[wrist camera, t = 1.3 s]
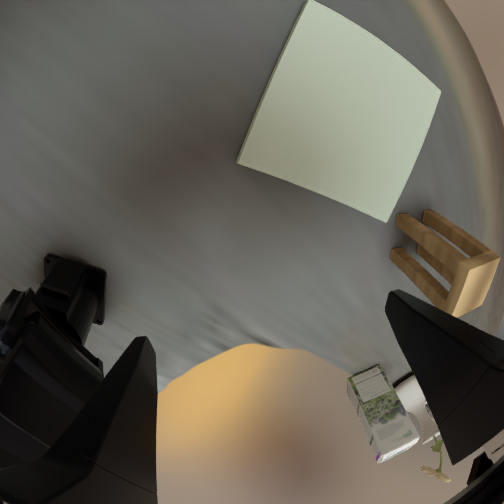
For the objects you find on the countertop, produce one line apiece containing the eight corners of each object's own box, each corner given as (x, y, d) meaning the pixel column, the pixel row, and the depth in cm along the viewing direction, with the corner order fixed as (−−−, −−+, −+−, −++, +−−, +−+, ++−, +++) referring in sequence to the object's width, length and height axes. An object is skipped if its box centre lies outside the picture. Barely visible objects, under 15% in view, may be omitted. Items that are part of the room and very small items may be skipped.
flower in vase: (383, 384, 40) (437, 495, 19) (432, 357, 40) (492, 454, 19) (377, 410, 47) (418, 499, 25) (420, 387, 47) (465, 469, 25)
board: (380, 218, 23) (386, 223, 22) (236, 161, 19) (237, 163, 18) (434, 91, 17) (441, 91, 16) (304, 2, 13) (309, -2, 12)
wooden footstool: (390, 259, 26) (449, 321, 17) (396, 214, 23) (469, 270, 14) (423, 251, 26) (481, 304, 17) (431, 209, 23) (500, 257, 15)
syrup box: (346, 393, 38) (377, 465, 26) (346, 376, 35) (383, 458, 23) (376, 380, 38) (411, 448, 26) (380, 362, 35) (421, 437, 23)
